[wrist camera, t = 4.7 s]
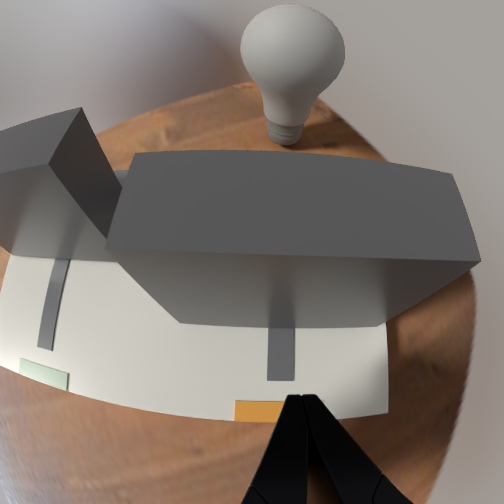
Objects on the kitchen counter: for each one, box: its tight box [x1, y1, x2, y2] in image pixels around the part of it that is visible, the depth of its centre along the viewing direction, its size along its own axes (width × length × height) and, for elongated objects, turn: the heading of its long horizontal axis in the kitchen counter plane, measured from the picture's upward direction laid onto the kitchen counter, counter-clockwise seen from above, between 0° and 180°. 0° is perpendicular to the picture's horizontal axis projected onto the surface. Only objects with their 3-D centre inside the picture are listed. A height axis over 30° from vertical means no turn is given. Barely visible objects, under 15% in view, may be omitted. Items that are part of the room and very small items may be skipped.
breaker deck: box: [0, 170, 388, 422], centre depth 15 cm, size 13×24×3 cm, turn 88°
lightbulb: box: [241, 4, 345, 145], centre depth 16 cm, size 6×6×11 cm
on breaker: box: [0, 107, 122, 262], centre depth 12 cm, size 3×10×8 cm, turn 88°
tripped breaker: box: [105, 150, 481, 328], centre depth 10 cm, size 3×10×8 cm, turn 88°
